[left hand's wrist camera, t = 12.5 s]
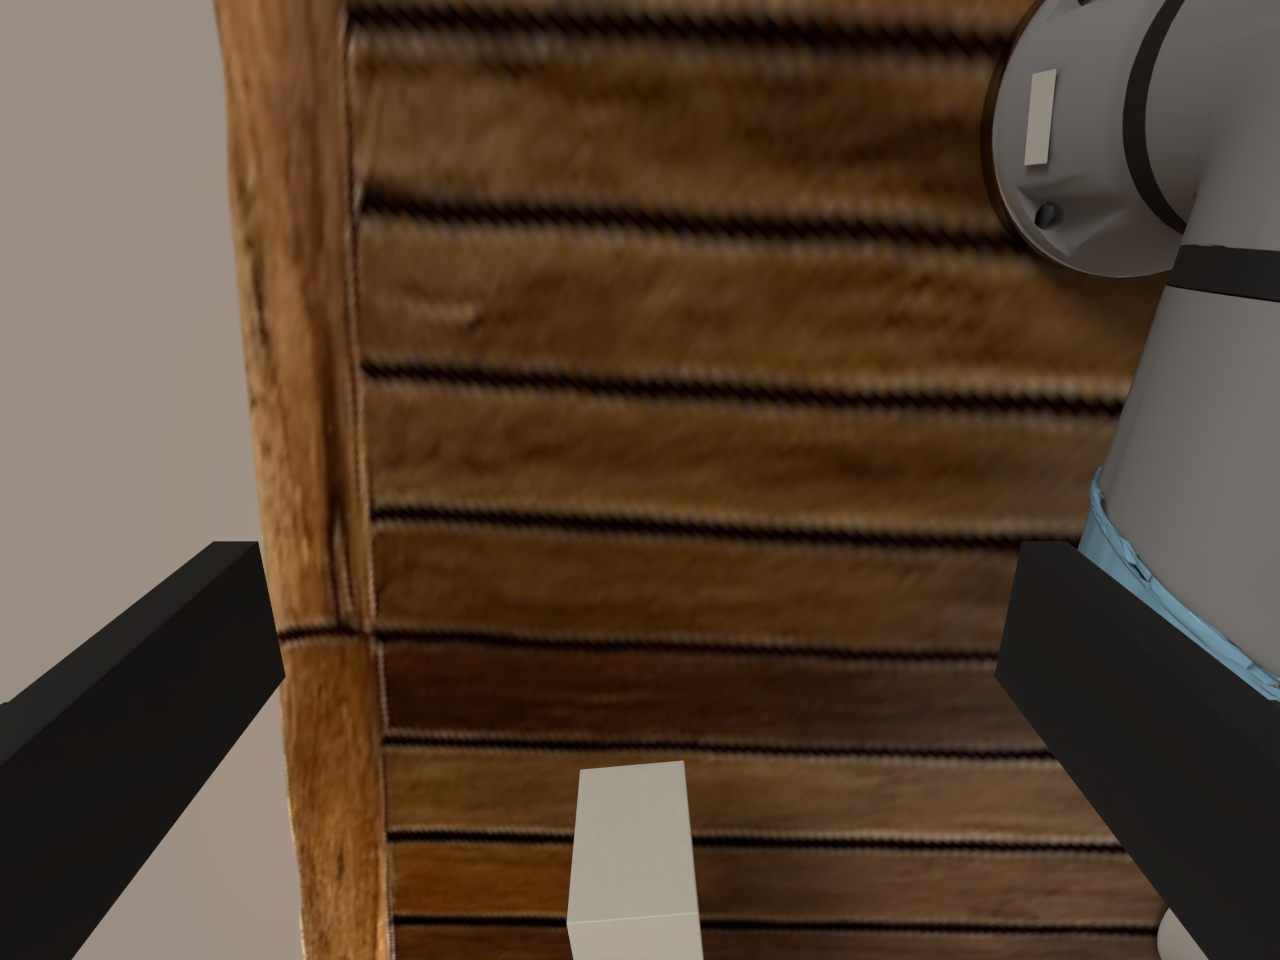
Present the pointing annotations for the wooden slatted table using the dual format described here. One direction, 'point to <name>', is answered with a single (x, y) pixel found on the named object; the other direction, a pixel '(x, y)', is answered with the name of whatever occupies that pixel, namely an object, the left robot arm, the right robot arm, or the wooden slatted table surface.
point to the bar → (634, 866)
